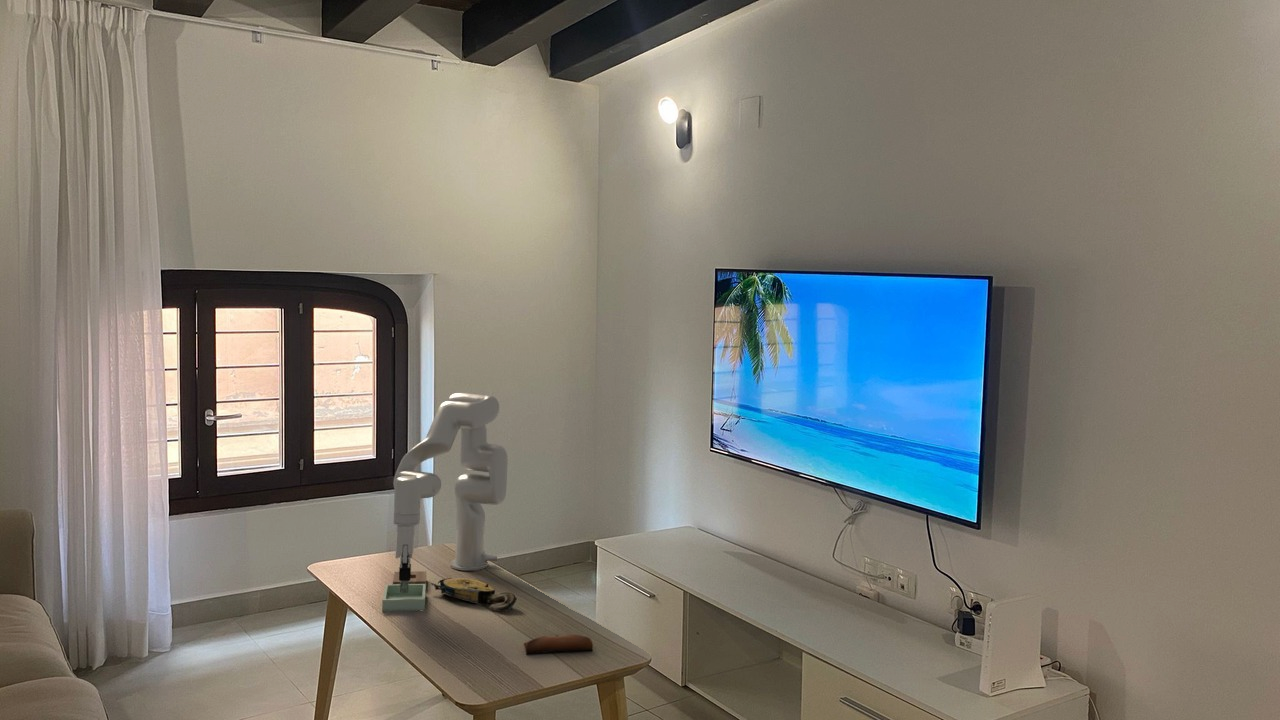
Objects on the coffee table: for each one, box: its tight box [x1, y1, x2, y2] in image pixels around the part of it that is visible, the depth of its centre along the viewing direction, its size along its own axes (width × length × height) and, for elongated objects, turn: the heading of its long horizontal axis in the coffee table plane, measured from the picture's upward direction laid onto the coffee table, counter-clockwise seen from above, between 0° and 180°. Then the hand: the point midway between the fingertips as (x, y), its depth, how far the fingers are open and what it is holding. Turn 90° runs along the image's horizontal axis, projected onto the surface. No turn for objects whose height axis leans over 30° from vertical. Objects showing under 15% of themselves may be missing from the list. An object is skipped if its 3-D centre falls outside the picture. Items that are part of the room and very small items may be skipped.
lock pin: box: [400, 581, 409, 593], centre depth 284 cm, size 2×2×8 cm
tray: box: [381, 583, 427, 613], centre depth 285 cm, size 12×14×4 cm
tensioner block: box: [392, 570, 427, 585], centre depth 300 cm, size 10×10×3 cm
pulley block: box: [430, 577, 518, 612], centre depth 290 cm, size 14×6×30 cm
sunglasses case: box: [523, 634, 594, 655], centre depth 256 cm, size 18×7×7 cm
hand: (404, 578), depth 284 cm, fingers closed on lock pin, 2 cm apart
